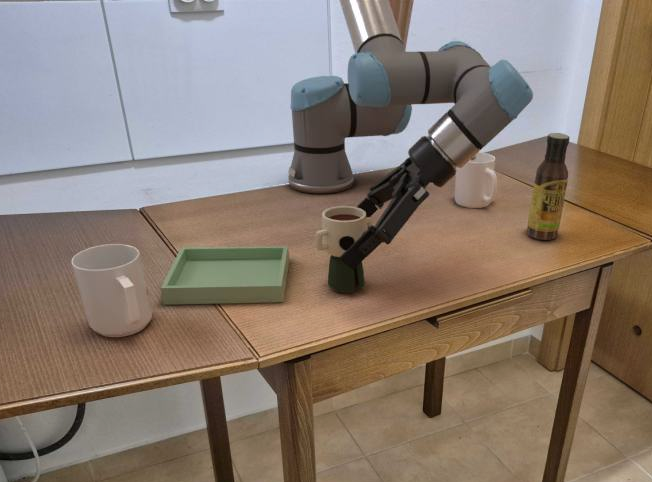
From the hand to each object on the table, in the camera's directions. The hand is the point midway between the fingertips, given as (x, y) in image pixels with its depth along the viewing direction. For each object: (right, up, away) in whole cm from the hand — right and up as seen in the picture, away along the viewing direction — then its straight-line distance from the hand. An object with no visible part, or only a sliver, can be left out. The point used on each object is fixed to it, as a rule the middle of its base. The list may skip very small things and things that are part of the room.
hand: (345, 245), depth 104 cm
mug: (-32, -14, -9) cm, 36 cm away
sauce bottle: (+37, +6, +26) cm, 45 cm away
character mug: (0, -6, +4) cm, 8 cm away
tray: (-20, -5, +5) cm, 21 cm away
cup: (+25, +15, +40) cm, 50 cm away
